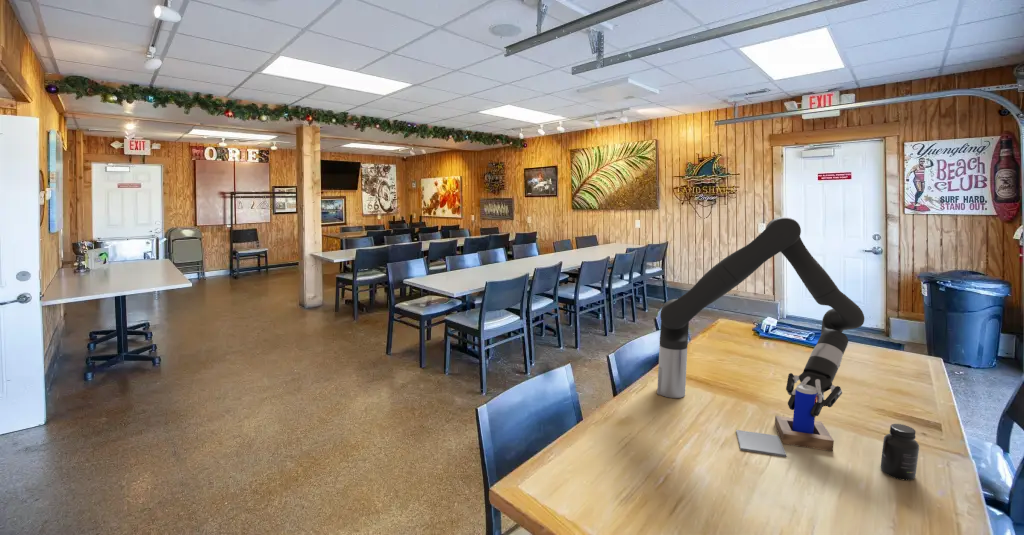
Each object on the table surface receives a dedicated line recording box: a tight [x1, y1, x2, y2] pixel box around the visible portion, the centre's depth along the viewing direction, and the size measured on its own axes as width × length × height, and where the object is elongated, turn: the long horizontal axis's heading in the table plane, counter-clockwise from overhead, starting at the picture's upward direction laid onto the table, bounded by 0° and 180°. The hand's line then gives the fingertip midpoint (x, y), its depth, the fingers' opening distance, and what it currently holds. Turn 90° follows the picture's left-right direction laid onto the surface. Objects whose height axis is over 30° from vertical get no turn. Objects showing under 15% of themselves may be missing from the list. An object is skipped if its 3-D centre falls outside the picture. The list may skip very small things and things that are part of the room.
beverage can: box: [792, 383, 817, 434], centre depth 135 cm, size 5×5×15 cm
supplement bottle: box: [880, 423, 920, 481], centre depth 117 cm, size 7×7×12 cm
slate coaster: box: [735, 429, 787, 458], centre depth 133 cm, size 11×11×1 cm
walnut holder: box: [774, 415, 835, 452], centre depth 136 cm, size 12×12×3 cm
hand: (801, 411), depth 134 cm, fingers closed on beverage can, 5 cm apart
